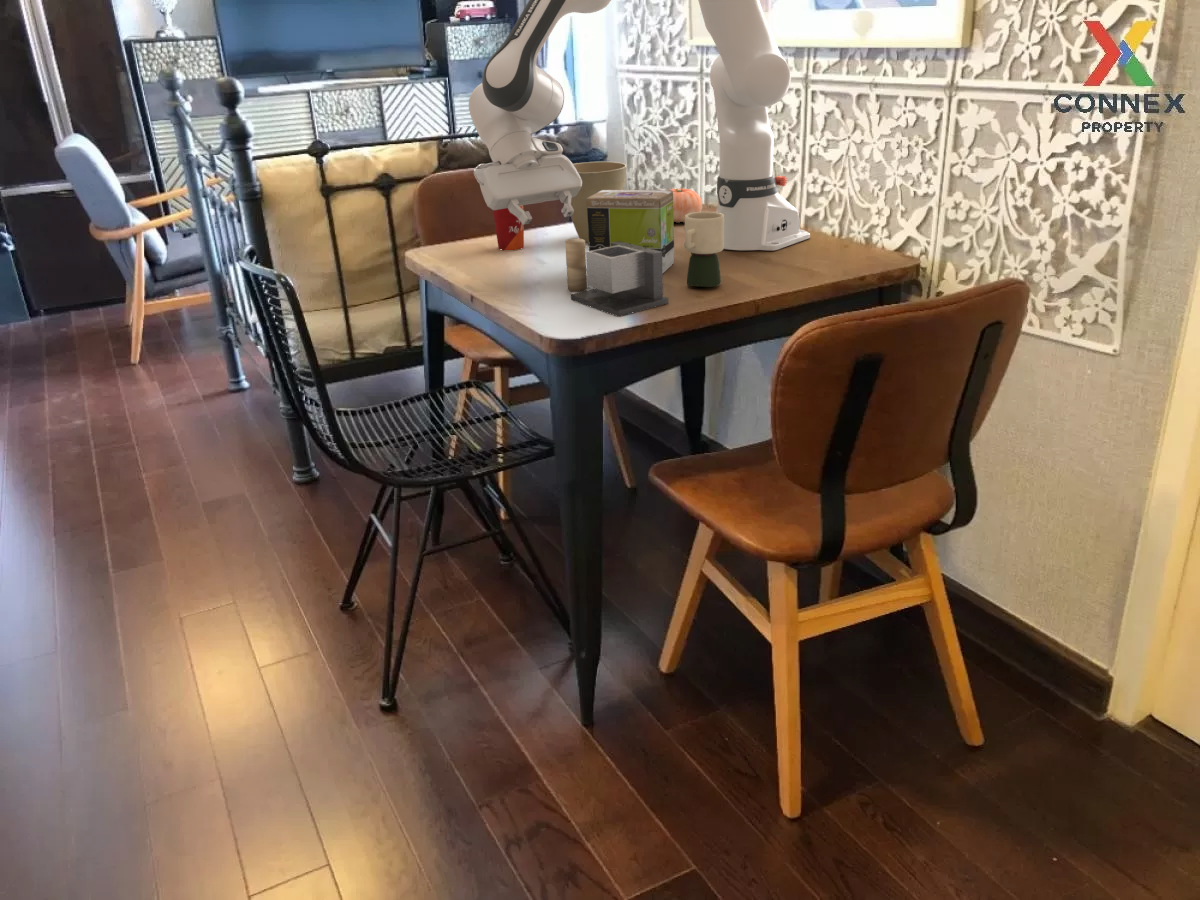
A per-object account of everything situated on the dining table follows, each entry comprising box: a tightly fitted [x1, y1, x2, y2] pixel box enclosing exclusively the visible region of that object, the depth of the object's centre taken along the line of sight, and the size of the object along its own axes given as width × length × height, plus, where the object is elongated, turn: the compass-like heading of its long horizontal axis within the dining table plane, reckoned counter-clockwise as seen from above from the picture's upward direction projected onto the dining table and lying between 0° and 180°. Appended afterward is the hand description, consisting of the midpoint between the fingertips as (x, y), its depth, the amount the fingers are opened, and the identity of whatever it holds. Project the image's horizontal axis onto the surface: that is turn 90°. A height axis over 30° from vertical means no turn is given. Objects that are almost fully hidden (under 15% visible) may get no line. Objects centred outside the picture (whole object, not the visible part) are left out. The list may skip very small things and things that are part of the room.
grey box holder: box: [570, 241, 669, 317], centre depth 163 cm, size 11×14×9 cm
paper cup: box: [492, 205, 525, 251], centre depth 203 cm, size 8×8×14 cm
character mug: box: [683, 211, 724, 288], centre depth 169 cm, size 11×7×13 cm, turn 140°
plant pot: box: [570, 161, 627, 244], centre depth 207 cm, size 15×15×16 cm
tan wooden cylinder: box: [564, 238, 588, 293], centre depth 172 cm, size 4×4×9 cm
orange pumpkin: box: [670, 187, 703, 224], centre depth 223 cm, size 11×11×8 cm
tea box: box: [587, 189, 675, 274], centre depth 183 cm, size 15×10×15 cm
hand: (549, 218), depth 175 cm, fingers open, 8 cm apart
